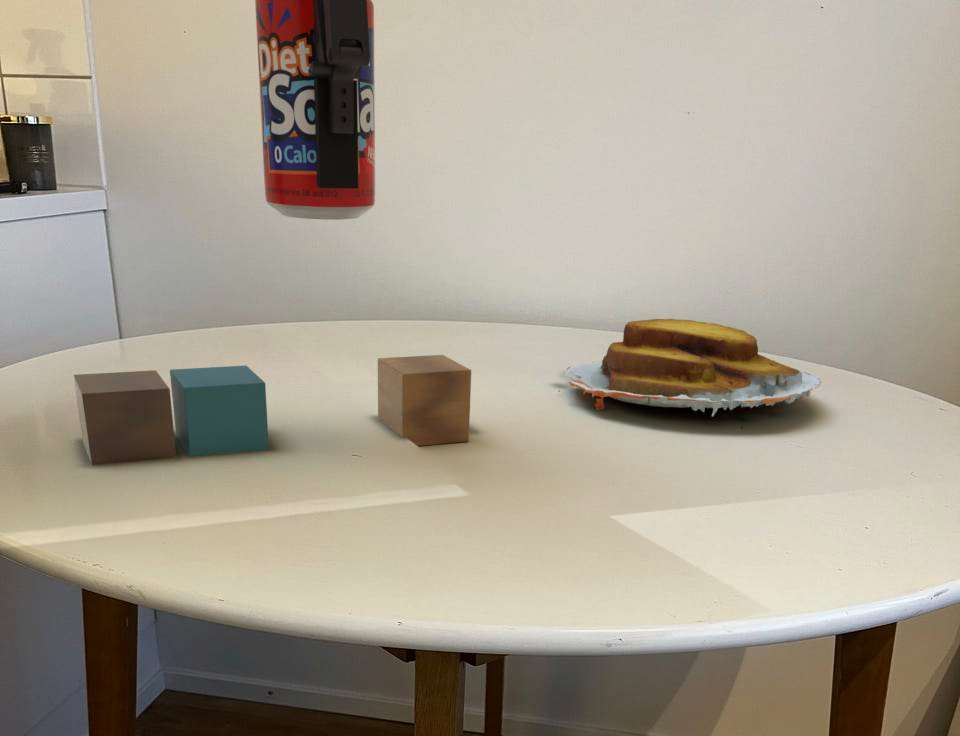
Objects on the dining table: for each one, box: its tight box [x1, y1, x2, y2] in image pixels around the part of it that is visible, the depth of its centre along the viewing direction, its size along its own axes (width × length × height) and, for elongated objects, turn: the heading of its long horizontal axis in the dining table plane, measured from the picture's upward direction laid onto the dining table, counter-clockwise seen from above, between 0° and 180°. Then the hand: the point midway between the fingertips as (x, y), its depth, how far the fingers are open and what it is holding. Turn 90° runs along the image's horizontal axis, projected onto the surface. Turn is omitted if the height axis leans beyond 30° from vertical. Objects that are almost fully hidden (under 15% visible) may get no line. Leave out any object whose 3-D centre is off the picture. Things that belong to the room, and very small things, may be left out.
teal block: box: [169, 364, 270, 457], centre depth 79 cm, size 6×6×6 cm
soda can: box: [254, 0, 376, 221], centre depth 70 cm, size 8×8×15 cm
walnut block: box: [73, 369, 177, 466], centre depth 76 cm, size 6×6×6 cm
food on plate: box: [557, 318, 822, 429], centre depth 100 cm, size 25×25×7 cm
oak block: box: [377, 354, 472, 447], centre depth 85 cm, size 6×6×6 cm
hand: (319, 182), depth 73 cm, fingers closed on soda can, 8 cm apart
